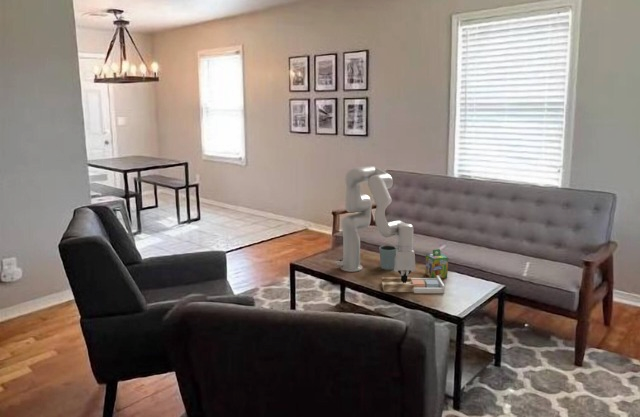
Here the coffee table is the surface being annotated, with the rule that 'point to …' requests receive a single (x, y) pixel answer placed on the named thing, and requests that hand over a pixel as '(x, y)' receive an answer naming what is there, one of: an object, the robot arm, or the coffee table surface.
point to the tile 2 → (431, 284)
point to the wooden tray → (396, 285)
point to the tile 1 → (418, 283)
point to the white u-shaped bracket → (430, 290)
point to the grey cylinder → (387, 257)
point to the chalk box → (436, 265)
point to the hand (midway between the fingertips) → (404, 282)
